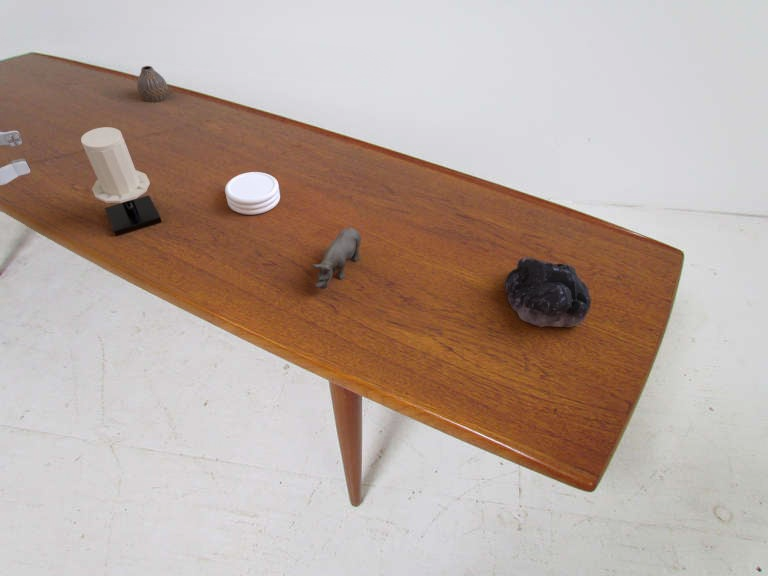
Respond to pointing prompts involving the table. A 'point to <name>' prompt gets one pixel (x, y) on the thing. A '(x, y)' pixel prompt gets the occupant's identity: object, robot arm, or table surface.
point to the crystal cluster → (547, 293)
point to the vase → (152, 85)
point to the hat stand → (132, 215)
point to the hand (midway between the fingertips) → (24, 150)
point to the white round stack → (252, 193)
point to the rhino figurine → (338, 256)
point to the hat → (113, 166)
